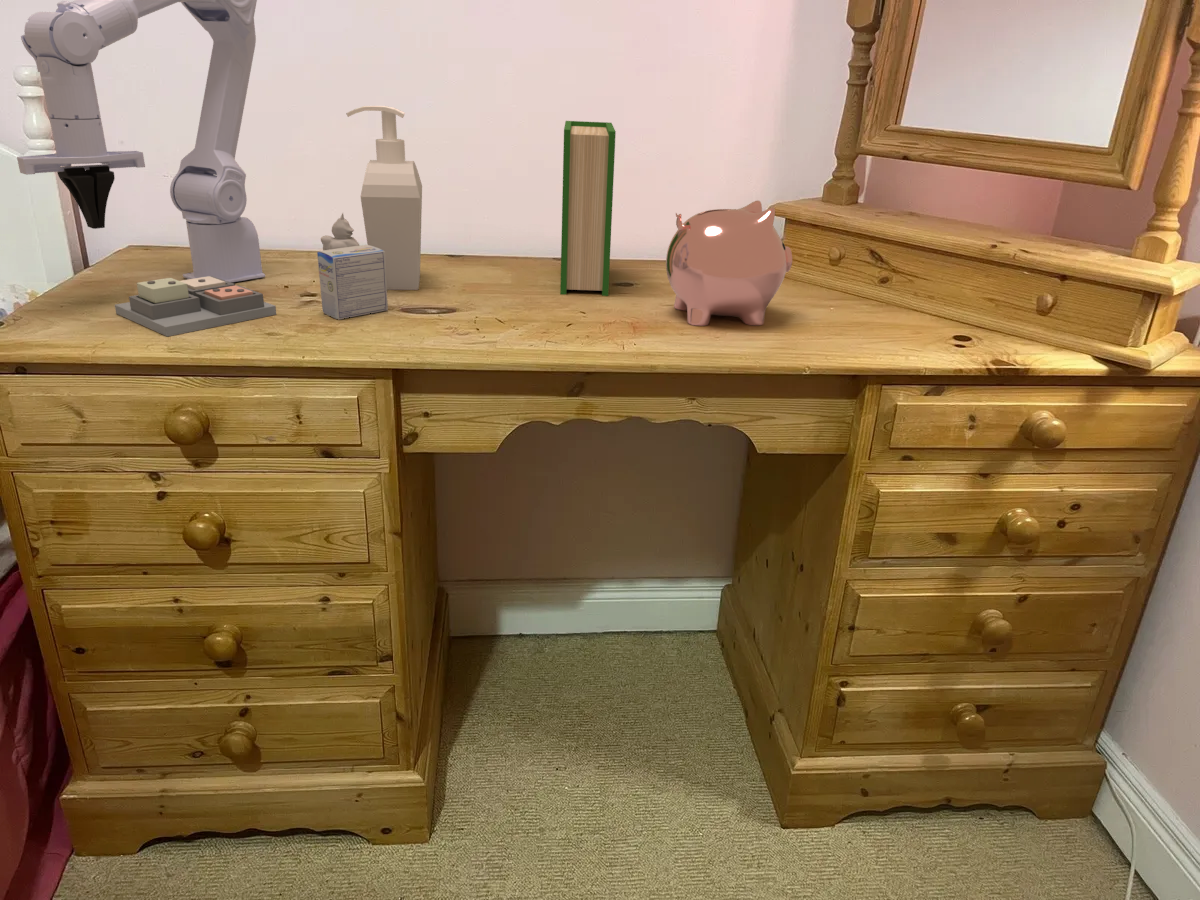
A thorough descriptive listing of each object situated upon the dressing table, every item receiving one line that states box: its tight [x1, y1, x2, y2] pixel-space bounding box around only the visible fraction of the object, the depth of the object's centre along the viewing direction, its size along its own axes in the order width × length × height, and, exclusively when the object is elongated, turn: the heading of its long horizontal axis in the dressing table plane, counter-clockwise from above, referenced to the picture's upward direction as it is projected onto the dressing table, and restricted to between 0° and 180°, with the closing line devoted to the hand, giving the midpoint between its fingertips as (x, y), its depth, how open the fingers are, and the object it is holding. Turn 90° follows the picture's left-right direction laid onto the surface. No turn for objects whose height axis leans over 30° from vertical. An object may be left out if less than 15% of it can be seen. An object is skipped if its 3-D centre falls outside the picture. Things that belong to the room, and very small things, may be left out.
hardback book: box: [559, 120, 617, 297], centre depth 139 cm, size 18×7×24 cm, turn 1°
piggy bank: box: [665, 200, 793, 327], centre depth 125 cm, size 15×18×16 cm
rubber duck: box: [320, 212, 361, 251], centre depth 150 cm, size 5×7×8 cm
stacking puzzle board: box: [114, 276, 277, 337], centre depth 118 cm, size 15×14×3 cm
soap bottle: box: [346, 105, 423, 291], centre depth 132 cm, size 12×10×26 cm
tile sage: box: [136, 277, 189, 303], centre depth 114 cm, size 4×4×2 cm
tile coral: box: [204, 284, 254, 300], centre depth 117 cm, size 4×4×2 cm
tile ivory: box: [180, 276, 226, 290], centre depth 121 cm, size 4×4×2 cm
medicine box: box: [316, 244, 389, 321], centre depth 120 cm, size 8×4×9 cm, turn 134°
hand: (96, 227), depth 117 cm, fingers closed
